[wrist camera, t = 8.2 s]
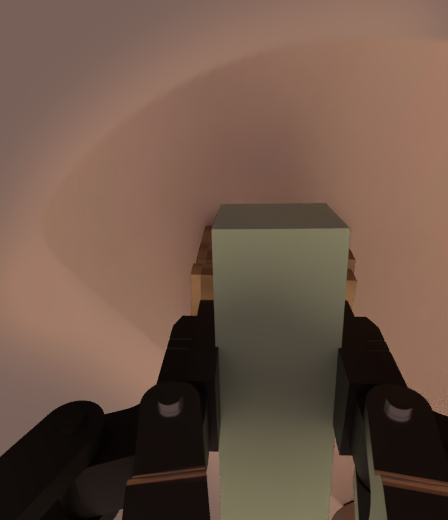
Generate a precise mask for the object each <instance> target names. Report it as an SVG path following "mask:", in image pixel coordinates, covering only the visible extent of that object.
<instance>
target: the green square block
mask: <svg viewBox="0 0 448 520" xmlns="http://www.w3.org/2000/svg"><path fill="white" fill-rule="evenodd" d="M349 240H350V227H349V226H348V225H347V224H346V223H345V222H344V221H343V220H342V219H341V218H340V217H339V216H338V215H337V214H336V213H335V212H334V211H333V210H332V209H331V208H330V207H329V206H328V205H327V204H326V203H314V204H232V205H220V208H219V211H218V213H217V216H216V219H215V221H214V224H213V227H212V260H213V289H214V319H215V347H218V349H219V381H220V413H221V426H220V439H219V466H220V493H221V494H220V497H221V520H328V519H329V517H328V516H329V505H330V492H331V479H332V466H333V452H334V439H335V433H334V429H333V413H334V399H335V386H336V372H337V358H338V348H341V346H342V333H343V320H344V307H345V293H346V280H347V267H348V253H349Z"/></svg>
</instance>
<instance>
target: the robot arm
mask: <svg viewBox="0 0 448 520" xmlns="http://www.w3.org/2000/svg"><path fill="white" fill-rule="evenodd" d="M220 426H221V413H220V381H219V349H218V347H215V319H214V300H200V303H199V308H198V313H197V316H182V317H181V318H180V319H179V320H178V321H177V322H176V323H175V324H174V325H173V328H172V332H171V335H170V340H169V342H168V346H167V349H166V353H165V356H164V360H163V363H162V367H161V370H160V374H159V377H158V381H157V384H156V385H155V386H153V387H151V388H150V389H149V390H148V391H147V392H146V393H145V394H144V395H143V397H142V399H141V402H140V404H138V405H136V406H134V407H131V408H129V409H125V410H121V411H117V412H113V413H108V414H104V412H103V410H102V408H101V407H100V406H99V405H98V404H96V403H93V402H91V401H74V402H70V403H67V404H64V405H62V406H60V407H58V408H57V409H55V410H53V411H52V412H51V413H50V414H49V415H47V416H46V417H45V418H44V419H43V420H42V421H40V422H39V423H38V424H37V425H36V426H35V427H34V428H33V429H32V430H30V431H29V432H28V433H27V434H26V435H25V436H23V437H22V438H21V439H20V440H19V441H18V442H17V443H16V444H14V445H13V446H12V447H11V448H10V449H9V450H7V451H6V452H5V453H4V454H3V455H2V456H1V457H0V520H113V519H114V518H115V517H116V515H117V513H118V511H119V510H120V509H123V514H122V520H210V510H209V498H208V487H207V474H206V471H207V466H208V456H209V451H218V452H219V439H220ZM333 429H334V433H335V437H336V442H337V446H338V450H339V455H352V456H353V460H354V464H355V470H354V476H353V488H354V502H352V503H350V504H348V505H346V506H344V507H342V508H341V509H340V510H338V511H337V512H336V514H335V515H334V516H333V518H332V520H448V416H445V415H442V414H439V413H437V412H434V411H432V408H431V406H430V404H429V403H428V401H427V400H426V399H425V398H424V397H423V396H421V395H420V394H419V393H417V392H416V391H414V390H412V389H410V388H408V387H407V385H406V383H405V381H404V379H403V377H402V375H401V373H400V371H399V369H398V367H397V365H396V362H395V360H394V358H393V356H392V354H391V352H389V348H388V346H387V344H386V342H384V338H383V336H382V334H381V332H380V330H379V328H378V327H377V326H376V325H375V324H374V323H373V322H372V321H370V320H369V319H368V318H367V317H354V314H353V312H352V309H351V307H350V305H349V302H348V301H347V300H345V307H344V320H343V333H342V346H341V348H338V358H337V372H336V386H335V399H334V413H333Z"/></svg>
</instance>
